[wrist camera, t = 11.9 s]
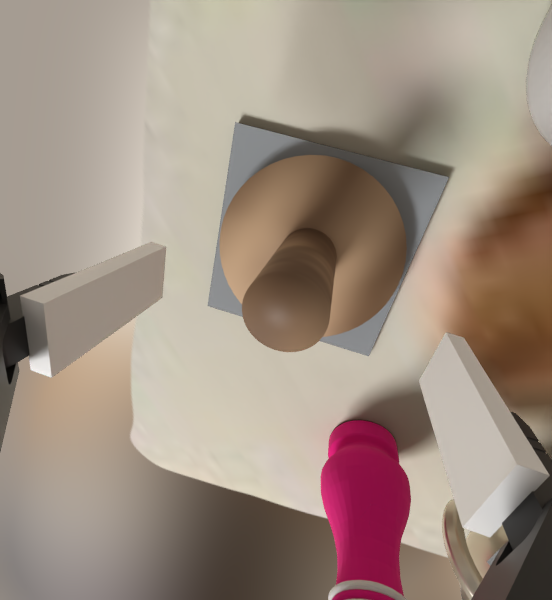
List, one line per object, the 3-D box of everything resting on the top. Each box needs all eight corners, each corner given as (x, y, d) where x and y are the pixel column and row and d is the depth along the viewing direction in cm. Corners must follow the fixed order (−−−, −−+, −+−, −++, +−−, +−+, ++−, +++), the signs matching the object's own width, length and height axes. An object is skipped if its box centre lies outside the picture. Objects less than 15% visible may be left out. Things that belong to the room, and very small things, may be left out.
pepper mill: (413, 428, 29) (522, 880, 11) (387, 479, 32) (437, 894, 14) (334, 406, 29) (312, 792, 12) (316, 458, 33) (278, 824, 15)
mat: (446, 176, 20) (448, 177, 20) (368, 352, 26) (368, 356, 26) (238, 123, 21) (235, 122, 21) (210, 302, 28) (207, 305, 27)
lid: (438, 185, 20) (514, 211, 11) (363, 350, 26) (372, 456, 17) (242, 132, 21) (161, 114, 12) (213, 301, 27) (143, 377, 18)
